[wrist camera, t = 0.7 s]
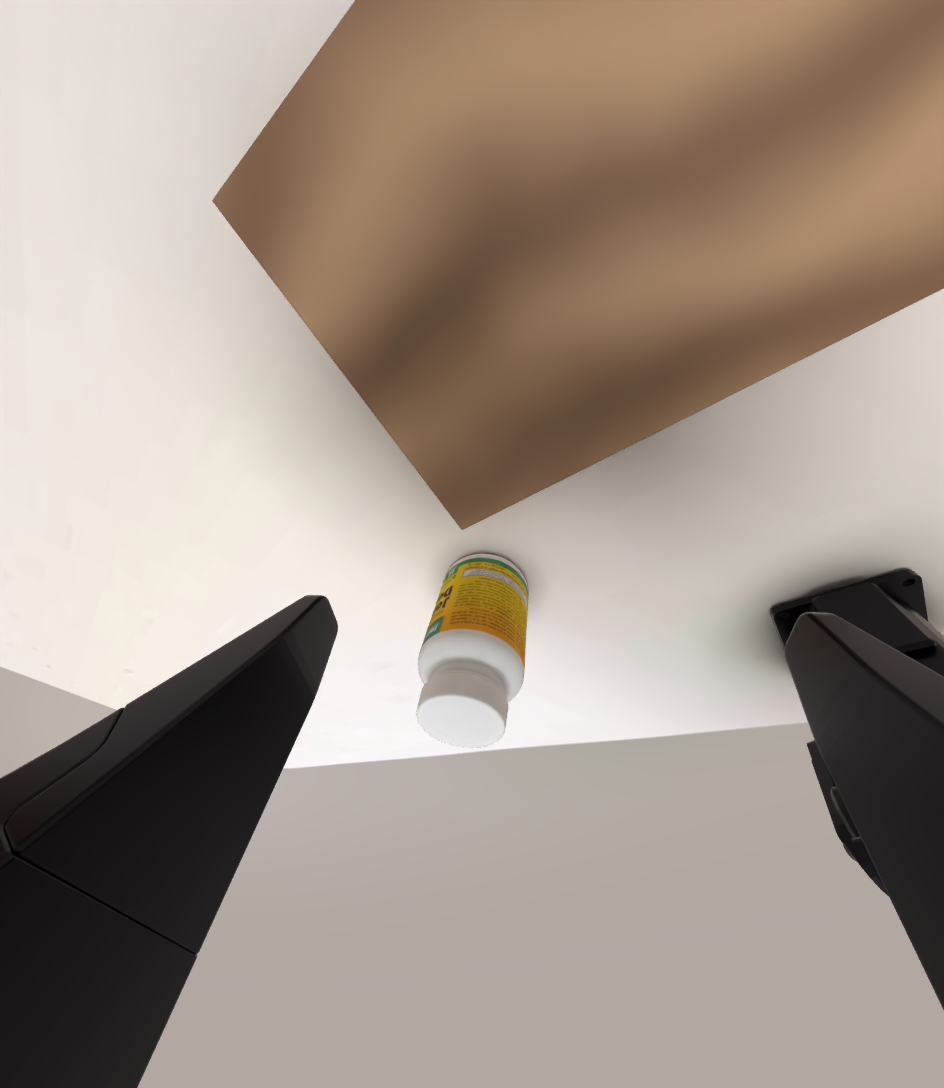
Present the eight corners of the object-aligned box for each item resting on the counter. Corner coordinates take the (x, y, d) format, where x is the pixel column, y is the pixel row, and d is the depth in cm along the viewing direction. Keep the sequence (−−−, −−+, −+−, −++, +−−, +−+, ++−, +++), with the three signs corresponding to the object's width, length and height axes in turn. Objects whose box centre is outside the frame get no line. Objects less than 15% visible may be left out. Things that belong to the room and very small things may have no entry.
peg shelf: (932, 268, 14) (983, 268, 12) (468, 511, 22) (462, 530, 21) (856, -585, 7) (942, -822, 6) (246, 207, 16) (212, 200, 14)
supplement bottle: (518, 622, 27) (507, 768, 19) (441, 605, 27) (398, 742, 19) (538, 559, 24) (534, 703, 16) (450, 541, 24) (403, 674, 16)
